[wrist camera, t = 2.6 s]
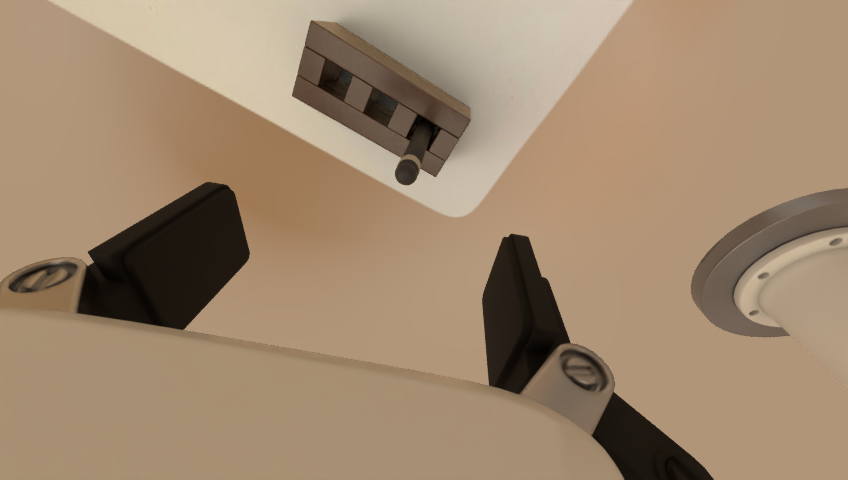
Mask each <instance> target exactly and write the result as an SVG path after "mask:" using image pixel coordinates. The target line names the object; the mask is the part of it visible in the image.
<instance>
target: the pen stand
mask: <svg viewBox="0 0 848 480" xmlns="http://www.w3.org/2000/svg"><path fill="white" fill-rule="evenodd" d="M342 68H343V69H345V70H346V71H348V72H349V73H351V74H353V76H352V79H351V82H350V85H347V84H346V83H344V82H342V81H341V80H339V77H340V73H341V70H342ZM381 92H383V93H384V94H386V95H387V96H389V97H391V98H392V99H394V100H396V101H397V102H399V103H398V105H397V107H396V109H395V111H394V112H393V111H391V110H389V109H388V108H386V107H384V106H383V105H381V104H379V103H378V102H377V101H378V99H379V96H380V94H381ZM292 96H293V97H295V98H297V99H298V100H300V101H302V102H304V103H305V104H307V105H309V106H311V107H313V108H314V109H316V110H318V111H320V112H321V113H323V114H325V115H327V116H328V117H330V118H332V119H334V120H336V121H337V122H339V123H341V124H343V125H344V126H346V127H348V128H350V129H351V130H353V131H355V132H357V133H358V134H360V135H362V136H364V137H366V138H367V139H369V140H371V141H373V142H374V143H376V144H378V145H380V146H381V147H383V148H385V149H387V150H389V151H390V152H392V153H394V154H396V155H397V156H399V157H401V158H402V156H403V154H404V152H405V150H406V148H407V146H408V144H409V142H410V140H411V138H412V136H413V134H414V132H415V130H416V128H417V126H416V125H414V122H415V120H416V118H417V116H418V114H419V115H421V116H422V117H424V118H425V119H427V120H429V121H430V122H432V123H434V124H435V125H437V126H438V127H437V129H436V131H435V133H434V134H433V135H431V136H430V139H429V142H428V145H427V148H426V151H425V154H424V157H423V160H422V164H421V167H420V169H422V170H424V171H426V172H427V173H429V174H431V175H433V176H434V177H436V176H437V174H438V173H439V171H440V170H441V168H442V166H443V165H444V163H445V161H446V160H447V158H448V157H449V155H450V153H451V152H452V150H453V149H454V147H455V145H456V144H457V142H458V140H459V138H460V137H461V135H462V134H463V132H464V131H465V129H466V127H467V126H468V124H469V122H470V121H471V119H470V108H469V107H468V106H466V105H465V104H463V103H461V102H460V101H458V100H457V99H455V98H454V97H452V96H450V95H449V94H447V93H446V92H444V91H443V90H441V89H439V88H438V87H436V86H435V85H433V84H432V83H430V82H428V81H427V80H425V79H424V78H422V77H420V76H419V75H417V74H416V73H414V72H413V71H411V70H409V69H408V68H406V67H405V66H403V65H402V64H400V63H398V62H397V61H395V60H394V59H392V58H391V57H389V56H387V55H386V54H384V53H383V52H381V51H379V50H378V49H376V48H375V47H373V46H372V45H370V44H368V43H367V42H365V41H364V40H362V39H361V38H359V37H357V36H356V35H354V34H353V33H351V32H350V31H348V30H346V29H345V28H343V27H342V26H340V25H338V24H337V23H335V22H324V21H313V20H311V22H310V26H309V30H308V34H307V38H306V42H305V46H304V50H303V54H302V58H301V62H300V66H299V70H298V75H297V77H296V81H295V85H294V89H293V93H292Z"/></svg>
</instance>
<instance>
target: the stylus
mask: <svg viewBox="0 0 848 480" xmlns="http://www.w3.org/2000/svg"><path fill="white" fill-rule="evenodd" d="M433 127H434V123H432V122H430V121H429V120H427V119H425V118H424V117H422V118H421V120H420V122H419V124H418V126H417V128H416V130H415V132H414V134H413V136H412V138H411V140H410V142H409V144H408V146H407V148H406V150H405V152H404V154H403V156H402V158H401V160H400V161H399V163H398V166H397V168H396V171H395V176H396V179H397V181H398V182H399V183H401V184H403V185H410V184H412V183H414V182H415V180H416V179H417V176H418V174H419V171H420V167H421V164H422V160H423V157H424V154H425V151H426V148H427V145H428V142H429V139H430V136H431V133H432V130H433Z"/></svg>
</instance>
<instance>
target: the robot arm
mask: <svg viewBox="0 0 848 480" xmlns="http://www.w3.org/2000/svg"><path fill="white" fill-rule="evenodd" d="M88 253H89V255H90V257H91V258H92V260H93V261H94V263H92V264H91V265H89V266H87V265H86V263H85V262H84V261H82V260H81V259H77V258H71V257H63V258H54V259H49V260H44V261H40V262H36V263H33V264H31V265H28V266H25V267H23V268H21V269H19V270H17V271H15V272H13V273H12V274H10V275H8V276H7V277H5V278H4V279H3V280H2V281H1V283H0V480H714V479H713V478H712V477H711V475H710V474H709V473H708V472H707V470H706V469H705V468H704V467H703V466H702V465H701V464H700V463H699V462H698V461H697V460H695V458H693V457H692V456H691V455H690V454H689V453H687V452H686V451H685V450H684V449H682V448H681V447H680V446H679V445H678V444H676V443H675V442H674V441H673V440H672V439H670V438H669V437H668V436H667V435H665V434H664V433H663V432H662V431H661V430H659V429H658V428H657V427H656V426H655V425H653V424H652V423H651V422H650V421H648V420H647V419H646V418H645V417H643V416H642V415H641V414H640V413H639V412H637V411H636V410H635V409H634V408H632V407H631V406H630V405H629V404H627V403H626V402H625V401H624V400H623V399H621V398H620V397H619V396H618V395H617V394H615V393H614V387H615V381H614V377H613V374H612V372H611V370H610V369H609V367H608V366H607V364H606V363H605V362H604V361H603V360H602V359H601V358H600V357H599V356H598V355H597V354H595V353H594V352H593V351H591V350H589V349H587V348H586V347H583V346H580V345H578V344H571V343H570V340H569V337H568V335H567V332H566V329H565V326H564V323H563V320H562V318H561V315H560V312H559V310H558V306H557V303H556V301H555V298H554V295H553V292H552V290H551V287H550V284H549V282H548V280H547V279H546V278H544V277H541V273H540V271H539V268H538V265H537V261H536V258H535V255H534V253H533V249H532V246H531V243H530V240H529V238H528V237H527V236H522V235H515V234H510V235H509V237H504V238H503V239H502V242H501V245H500V247H499V251H498V253H497V256H496V259H495V261H494V264H493V267H492V270H491V273H490V276H489V278H488V281H487V284H486V287H485V290H484V293H483V298H482V305H483V317H484V328H485V340H486V354H487V365H488V378H489V386H488V385H483V384H480V383H476V382H471V381H467V380H461V379H456V378H451V377H446V376H441V375H436V374H431V373H425V372H420V371H415V370H410V369H404V368H399V367H393V366H387V365H381V364H376V363H370V362H365V361H359V360H353V359H348V358H342V357H337V356H331V355H325V354H320V353H314V352H308V351H302V350H297V349H291V348H285V347H279V346H274V345H268V344H262V343H256V342H250V341H244V340H239V339H233V338H227V337H221V336H215V335H209V334H203V333H197V332H191V331H185V330H183V329H185V328H186V327H187V325H188V324H189V323H190V322H191V321H192V320H193V319H194V318H195V317H196V316H197V315H198V314H199V313H200V311H201V310H202V309H203V308H204V307H205V306H206V305H207V304H208V303H209V302H210V301H211V300H212V299H213V298H214V296H215V295H216V294H217V293H218V292H219V291H220V290H221V289H222V288H223V287H224V286H225V285H226V284H227V283H228V281H229V280H230V279H231V278H232V277H233V276H234V275H235V274H236V273H237V272H238V271H239V270H240V269H241V268H242V266H243V265H244V264H245V263H246V262H247V260H248V259H249V254H250V252H249V248H248V244H247V240H246V236H245V232H244V228H243V224H242V220H241V216H240V212H239V208H238V204H237V200H236V197H235V194H234V192H233V191H232V190H230V188H229V187H228V186H227V185H224V184H218V183H211V182H206V183H204V184H202V185H201V186H199V187H197V188H195V189H194V190H192V191H190V192H189V193H187V194H185V195H184V196H182V197H180V198H179V199H177V200H175V201H173V202H172V203H170V204H168V205H167V206H165V207H163V208H162V209H160V210H158V211H156V212H155V213H153V214H151V215H150V216H148V217H146V218H145V219H143V220H141V221H139V222H138V223H136V224H134V225H133V226H131V227H129V228H127V229H126V230H124V231H122V232H121V233H119V234H117V235H116V236H114V237H112V238H110V239H109V240H107V241H105V242H104V243H102V244H100V245H99V246H97V247H95V248H93V249H92V250H90V251H88ZM734 302H735V304H736V306H737V308H738V309H739V310H740V311H741V312H742V313H743V314H744V315H745V316H746V317H747V318H749V319H750V320H752V321H753V322H756V323H759V324H762V325H767V326H772V327H782V328H783V329H784V330H785V331H786V332H787V333H788V334H790V335H791V336H792V337H793V338H794V339H795V340H796V341H797V342H798V343H799V344H801V345H802V346H803V347H804V348H805V349H806V350H807V351H808V352H809V353H810V354H811V355H812V356H813V357H815V358H816V359H817V360H818V361H819V362H820V363H821V364H822V365H823V366H824V367H825V368H826V369H828V370H829V371H830V372H831V373H832V374H833V375H834V376H835V377H836V378H837V379H838V380H839V381H841V382H842V383H843V384H844V385H845V386H846V387H847V388H848V227H843V228H835V229H829V230H825V231H820V232H816V233H812V234H809V235H806V236H803V237H800V238H797V239H795V240H793V241H791V242H788V243H786V244H784V245H782V246H780V247H778V248H776V249H774V250H773V251H771V252H769V253H767V254H766V255H765V256H763V257H762V258H760V259H759V260H758V261H756V262H755V263H754V264H753V265H752V266H751V267H750V268H749V269H747V270H746V272H745V273H744V274H743V275H742V277H741V278H740V279H739V281H738V283H737V285H736V287H735V291H734Z"/></svg>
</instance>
